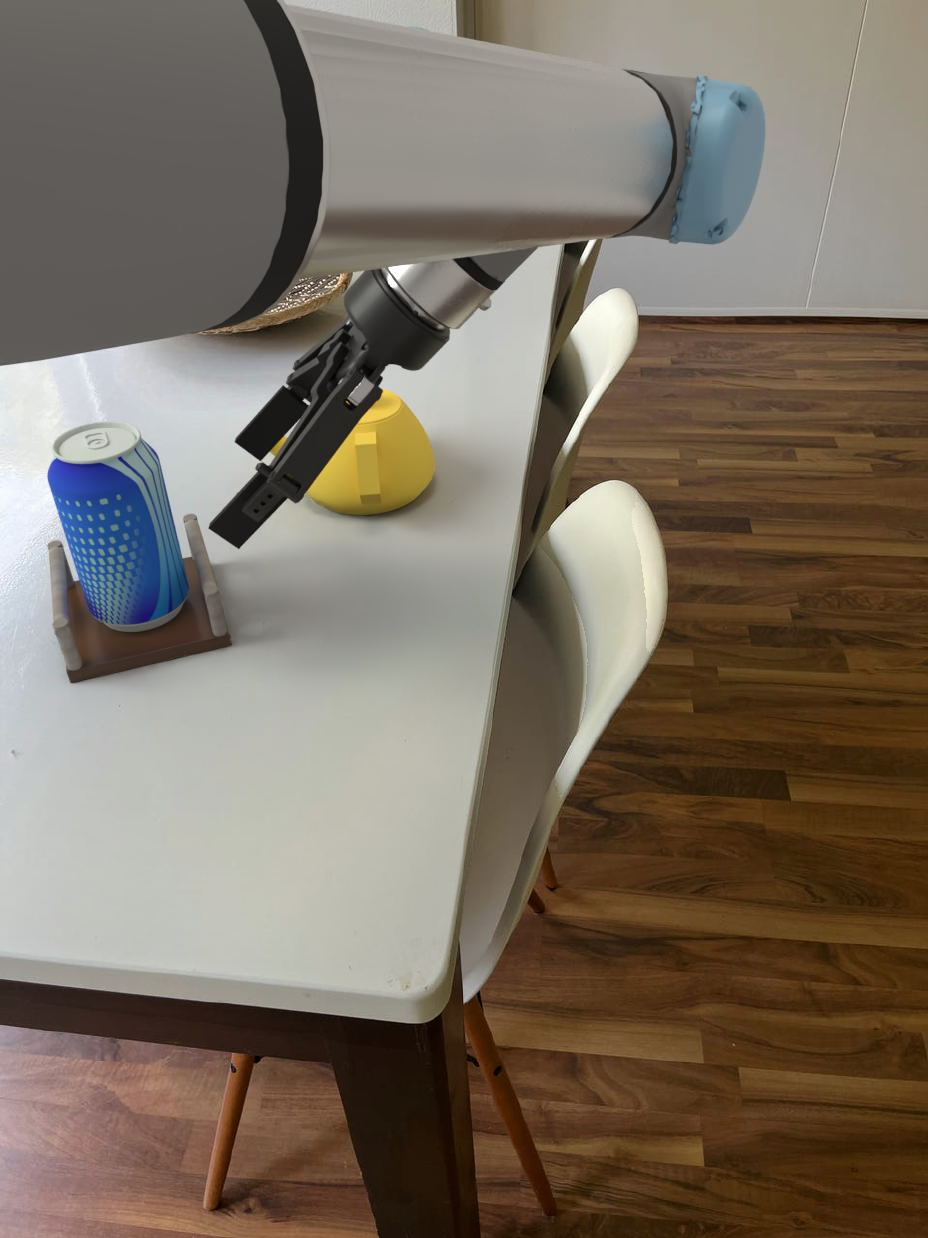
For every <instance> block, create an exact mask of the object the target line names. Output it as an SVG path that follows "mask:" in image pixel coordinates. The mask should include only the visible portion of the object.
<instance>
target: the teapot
mask: <svg viewBox="0 0 928 1238" xmlns="http://www.w3.org/2000/svg"><path fill="white" fill-rule="evenodd" d="M381 389H382V390H383V393H382V395H381V398H380V399H379V400H378V401H376V402H375V403H374V405H373V406H372V407H371V408H370V409H369V410H368V411H367V412H366V413H365V415H364V416H363V417H362V418H361V419H360V421H359V422H358V423H357V425H356V426H355V427H354V429H353V430H352V431H351V433H350V434H349V435H348V437H347V438H346V439H345V441H344V442H343V444H342V445H341V446H340V448H339V449H338V450H337V452H336V453H335V454H334V456H333V457H332V458H331V460H330V461H329V462H328V464H327V465H326V466H325V468H324V469H323V470H322V472H321V473H320V474H319V476H318V477H317V478H316V480H315V481H314V482H313V484H312V485H311V487H310V488H309V489H308V491H307V492H306V493H305V494H306V495H307V496H308V497H309V498H310V499H312V500H313V501H314V502H316V503H317V504H318V505H320V506H321V507H323V508H324V509H327V510H329V511H332V512H335V513H339V514H343V515H350V516H370V515H371V516H372V515H378V514H384V513H390V512H392V511H395V510H398V509H400V508H403V507H404V506H406V505H408V504H410V503H412V502H413V501H414V500H416V499H417V498H418V497H419V496H420V495H421V493H423V491H424V490H426V488H427V487H428V485H429V484H430V483H431V481H432V479H433V476H434V474H435V471H436V463H435V455H434V452H433V447H432V445H431V441H430V438H429V436H428V434H427V432H426V430H425V428H424V426H423V424H422V423H421V422H420V420H419V419H418V417H417V416H416V415H415V413H414V412H413V410H411V408H410V407H409V406H408V404H407V403H406V402H405V401H404V400H403V399H402V398H401V397H400V396H399V395H398V394H396V393H394V392H392V391H391V390H388V389H384V388H381ZM346 402H347V401H346ZM347 403H348V402H347ZM348 404H349V403H348ZM287 438H288V436H286V435H285V436H284V437H283V438H282V439H281V440H280V441H279V442H278V443H277V444H276V445H275V446H274V447H273V449H272V450H271V451H270V452H269V453H270V454H271V455H273V456H274V457H275V456H276V454H277V453H278V451H279V450H280V448H281V447H282V445H283V444H284V442H285V441H286V439H287Z"/></svg>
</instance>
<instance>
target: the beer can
mask: <svg viewBox="0 0 928 1238" xmlns="http://www.w3.org/2000/svg"><path fill="white" fill-rule="evenodd" d="M51 452H52V458H51V460H50V463H49V466H48V470H47V475H46V477H47V483H48V486H49V489H50V492H51V495H52V498H53V501H54V504H55V507H56V510H57V514H58V517H59V521H60V524H61V526H62V530H63V533H64V537H65V539H66V542H67V545H68V546H67V547H68V549H69V552H70V555H71V558H72V562H73V564H74V568H75V571H76V574H77V578H78V580H80V584H81V587H82V590H83V593H84V596H85V599H86V603H87V606H88V609H89V611H90V613H91V614H92V615H93V616H94V617H95V618H96V619H97V620H99V621H101V622H103V623H104V624H105V625H106V626H108V627H110V628H112V629H114V630H117V631H122V632H140V631H146V630H150V629H153V628H156V627H159V626H161V625H163V624H165V623H167V622H168V621H170V620H171V619H173V618H174V617H175V616H176V615H177V614H178V613H179V611H180V610H181V608H182V606H183V603H184V601H185V600H186V598H187V596H188V593H189V583H188V579H187V575H186V571H185V566H184V562H183V558H184V557H183V554H182V550H181V546H180V541H179V537H178V533H177V529H176V525H175V524H176V523H175V520H174V516H173V512H172V508H171V502H170V499H169V494H168V491H167V486H166V482H165V478H164V474H163V469H162V465H161V461H160V458H159V455H158V453H157V452H156V450H155V449H154V448H153V447H152V446H151V445H150V444H149V443H147V441H146V440H144V439H143V438H142V433H141V431H140V430H139V429H138V427H137V426H135V425H133V424H130V423H128V422H123V421H113V420H111V421H110V420H109V421H104V420H103V421H98V422H90V423H86V424H82V425H78V426H76V427H73V428H71V429H69V430H67V431H64V432H62V434H60V435H59V436H58V437H56V438H55V439H54V440H53V442H52V444H51Z"/></svg>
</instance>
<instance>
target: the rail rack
mask: <svg viewBox="0 0 928 1238" xmlns="http://www.w3.org/2000/svg"><path fill="white" fill-rule="evenodd" d="M182 521H183V524H184V528H185V533H186V538H187V542H188V546H189V550H190V555H191V556H187V557H182V558H183V562H184V566H185V571H186V575H187V579H188V583H189V593H188V596H187V598H186V600H185V601H184V603H183V606H182V608H181V610H180V611H179V613H178V614H177V615H176V616H175V617H174V618H173V619H171V620H170V621H168V622H167V623H165V624H163V625H161V626H159V627H156V628H153V629H150V630H146V631H140V632H122V631H117V630H114V629H112V628H110V627H108V626H106V625H105V624H104V623H103V622H101V621H99V620H97V619H96V618H95V617H94V616H93V615H92V614H91V613H90V611H89V609H88V606H87V603H86V599H85V596H84V593H83V590H82V587H81V584H80V580H79V579H78V580H75V579H74V577H73V574H72V570H71V567H70V565H69V561H68V558H67V554H66V551H65V549H64V544H63V543H62V541H61V540H59V539H58V540H57V539H56V540H52V541H51V540H50V541H49V542H48V543H47V545H46V546H47V550H48V558H49V559H48V560H49V574H50V589H51V590H50V591H51V603H52V619H53V622H52V624H51V625H52V629H53V633H54V636H55V637H56V640H57V642H58V645H59V648H60V652H61V654H62V657H63V660H64V662H65V668H66V670H65V671H66V674H67V677H68V680H69V683H70V684H72V683H76V682H80V681H81V682H82V681H85V680H89V679H93V678H97V677H103V676H106V675H111V674H114V673H119V672H122V671H127V670H132V669H135V668H140V667H145V666H148V665H152V664H153V665H154V664H157V663H161V662H165V661H170V660H174V659H178V658H182V657H183V658H184V657H187V656H191V655H195V654H199V653H203V652H208V651H211V650H217V649H221V648H224V647H228V646H232V645H233V643H232V638H231V633H230V629H229V627H228V624H227V620H226V616H225V613H224V608H223V603H222V598H221V594H220V593H221V592H220V589H219V587H218V584H217V580H216V577H215V574H214V571H213V567H212V563H211V560H210V557H209V554H208V551H207V547H206V543H205V541H204V536H203V534H202V530H201V527H200V523H199V519H198V516H197V514H195V513H187V514H185V515H184V516H183V517H182Z"/></svg>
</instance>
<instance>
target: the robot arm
mask: <svg viewBox="0 0 928 1238" xmlns="http://www.w3.org/2000/svg"><path fill="white" fill-rule="evenodd" d="M765 115H766V114H765V109H764V106H763V103H762V100H761V97H760V95H759V94H758V93H757V91H756V90H755V89H753V87H752V86H749V85H747V84H745V83H741V82H740V83H739V82H734V81H733V82H732V81H725V80H717V79H710V78H709V77H708V76H707V75H697V76H696V77H689V76H676V75H665V74H657V73H648V72H643V71H639V70H634V69H628V68H621V67H619V66H615V65H614V66H613V65H610V64H603V63H598V62H593V61H589V60H584V59H577V58H571V57H567V56H562V55H556V54H551V53H547V52H542V51H541V52H540V51H536V50H530V49H525V48H519V47H514V46H509V45H504V44H499V43H493V42H490V41H489V42H488V41H483V40H478V39H472V38H468V37H463V36H458V35H451V34H446V33H441V32H437V31H431V30H429V29H426V28H423V27H418V26H405V25H400V24H394V23H389V22H384V21H379V20H373V19H368V18H363V17H357V16H353V15H346V14H342V13H337V12H332V11H327V10H321V9H315V8H310V7H306V6H301V5H296V4H295V5H294V4H290V3H286V1H284V0H0V367H4V366H11V365H18V364H25V363H32V362H39V361H46V360H52V359H57V358H63V357H69V356H74V355H75V356H76V355H80V354H86V353H91V352H92V353H93V352H97V351H102V350H108V349H114V348H120V347H126V346H132V345H136V344H142V343H148V342H153V341H159V340H165V339H171V338H175V337H179V336H184V335H185V336H186V335H189V334H190V335H191V334H196V333H202V332H207V331H214V330H219V329H225V328H232V327H234V326H235V327H236V326H239V325H243V324H246V323H249V322H251V321H254V320H257V319H259V318H261V317H262V316H264V315H266V314H267V313H269V312H271V310H273V309H275V308H276V307H277V306H278V305H279V304H280V303H281V302H282V301H283V300H285V298H287V297H288V295H289V294H290V293H291V292H292V290H293V289H294V288H295V286H297V284H298V283H299V282H300V280H306V279H313V278H321V277H327V276H337V275H344V274H351V273H359V272H362V273H361V274H360V275H359V276H358V277H357V278H356V280H355V281H354V282H353V283H352V284H351V285H350V286H349V288H348V289H347V290H346V291H345V293H344V295H343V306H344V310H345V312H346V315H347V316H346V317H345V318H344V319H343V320H342V321H341V322H340V323H338V324H337V325H336V326H335V327H334V328H333V329H332V330H331V331H329V332H328V333H327V334H326V335H325V336H324V337H322V338H321V339H320V340H319V341H318V342H316V343H315V345H313V346H312V347H311V348H310V349H308V350H307V351H306V352H305V353H304V354H303V355H301V357H299V358H298V359H296V360H295V361H294V362H293V366H292V370H293V371H292V372H291V373H290V374H289V375H288V376H287V377H286V381H285V384H286V385H287V387H286V386H285V385H283V384H282V385H281V387H280V388H279V389H278V390H277V391H276V392H275V393H274V394H273V395H272V397H271V398H270V399H269V400H268V401H267V402H266V403H265V404H264V405H263V406H262V408H261V409H260V410H259V411H258V413H257V414H256V415H255V416H254V417H253V418H252V419H251V420H250V421H249V422H248V424H247V425H246V426H245V427H244V428H243V429H242V430H241V431H240V432H239V434H238V435H237V436H236V437H235V439H234V444H236V445H238V446H239V447H240V448H242V449H243V450H244V451H246V452H247V453H248V454H249V455H251V456H252V457H254V458H255V459H256V460H257V461H259V462H258V463H257V464H256V465H255V467H254V470H255V471H256V473H255V474H253V476H252V477H251V478H250V479H249V480H248V481H247V482H246V484H245V485H244V486H243V487H242V488H241V489H239V491H238V492H237V493H236V494H235V495H234V496H233V497H232V498H231V500H230V501H229V502H228V503H227V504H226V505H225V506H224V507H223V508H222V510H221V511H219V512H218V513H217V515H216V516H215V517H214V518H213V519H212V520H211V521H210V522H209V524H208V530H210V531H211V532H213V533H214V534H216V535H217V536H219V537H220V538H221V539H223V540H224V541H226V542H227V543H229V544H230V545H232V546H233V547H234V548H236V549H237V550H239V549H241V548H242V546H243V545H244V544H245V543H247V542H248V540H249V539H250V538H251V537H253V535H255V533H256V532H257V531H258V530H259V529H260V528H261V527H262V526H263V525H264V524H265V523H266V522H267V521H268V520H269V519H270V518H271V517H272V515H273V514H274V513H276V511H277V510H278V509H279V508H280V507H281V506H282V505H283V504H284V503H285V502H286V501H287V500H290V501H291V502H292V503H294V504H298V503H300V502H301V501H302V500H303V499H304V497H305V494H306V492H307V491H308V489H309V488H310V487H311V485H312V484H313V482H314V481H315V480H316V478H317V477H318V476H319V474H320V473H321V472H322V470H323V469H324V468H325V466H326V465H327V464H328V462H329V461H330V460H331V458H332V457H333V456H334V454H335V453H336V452H337V450H338V449H339V448H340V446H341V445H342V444H343V442H344V441H345V439H346V438H347V437H348V435H349V434H350V433H351V431H352V430H353V429H354V427H355V426H356V425H357V423H358V422H359V421H360V419H361V418H362V417H363V416H364V415H365V413H366V412H367V411H368V410H369V409H370V408H371V407H372V406H373V405H374V403H375V402H376V401H378V400H379V399H380V398H381V395H382V393H383V390H382V389H383V388H381V387H380V385H381V384H382V381H383V379H384V377H383V376H382V373H383V372H385V370H386V367H388V366H389V365H395V366H398V367H400V368H401V369H403V370H406V371H410V372H416V371H420V370H421V369H423V368H424V367H425V366H426V365H427V364H428V363H429V362H430V361H431V360H432V359H433V358H434V357H435V356H436V355H437V354H438V353H439V351H440V350H441V349H442V348H443V347H444V346H445V345H446V344H447V343H448V342H449V341H450V339H451V338H450V337H451V330H460V328H461V327H463V325H465V324H466V322H467V321H468V320H469V319H470V318H471V317H473V315H474V314H475V312H476V311H477V310H478V309H479V310H480V311H483V312H486V311H488V310H490V309H491V307H492V304H493V301H492V299H491V297H492V295H494V293H495V292H496V291H498V290H499V289H500V288H501V287H502V285H503V284H504V283H506V280H508V278H509V277H510V276H512V275H513V274H514V272H516V270H518V268H520V266H522V264H524V262H526V261H527V259H529V258H530V257H531V256H532V255H533V254H534V252H536V250H538V249H539V248H543V247H549V246H556V245H557V246H558V245H566V244H572V243H579V242H587V241H595V240H601V239H606V240H607V239H615V238H617V239H618V238H624V237H645V238H652V239H658V240H665V241H668V244H674V245H678V244H679V243H691V244H701V245H710V246H711V245H718V244H722V243H723V242H725V241H726V240H729V238H731V237H732V236H733V235H734V234H735V233H736V232H737V230H738V229H739V228H740V226H741V225H742V223H743V222H744V219H745V218H746V215H747V214H748V212H749V209H750V207H751V204H752V202H753V199H754V196H755V193H756V190H757V186H758V183H759V179H760V175H761V170H762V166H763V159H764V153H765V145H766V116H765ZM304 400H306V401H307V402H308V403H309V404H308V403H306V402H305V401H304ZM346 401H347V402H348V403H349V404H348V403H347V402H346ZM292 428H293V429H292ZM291 429H292V430H291ZM290 430H291V432H290V434H289V435H288V436H287V439H286V441H285V442H284V444H283V445H282V447H281V448H280V450H279V451H278V453H277V454H276V456H274V457H273V459H272V460H271V462H270V463H269V464H266V463H265V462H263V459H265V458H266V456H267V455H268V454H269V453H270V451H271V450H272V449H273V447H274V446H275V445H276V444H277V443H278V442H279V441H280V440H281V439H282V438H283V437H284V436H286V435H287V434H288V433H289V431H290Z"/></svg>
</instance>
